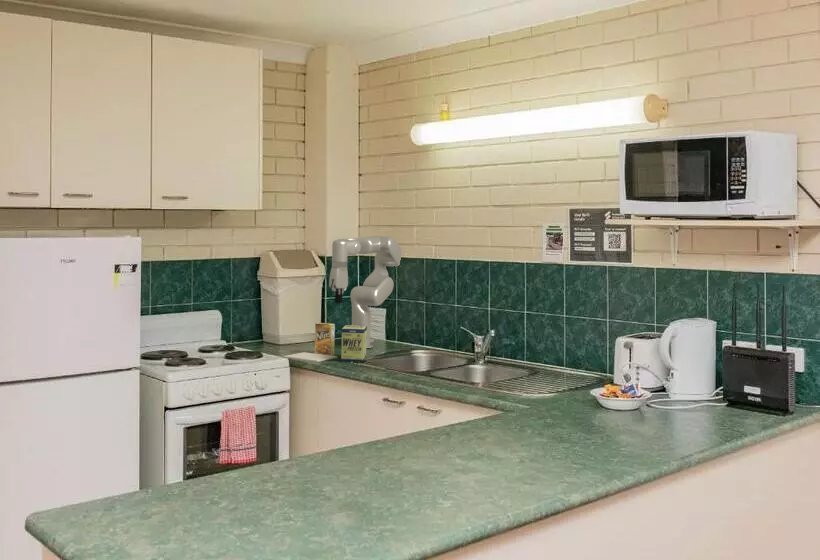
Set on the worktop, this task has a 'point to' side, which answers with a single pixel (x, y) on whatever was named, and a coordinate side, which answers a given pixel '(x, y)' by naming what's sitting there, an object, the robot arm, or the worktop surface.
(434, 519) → the worktop surface
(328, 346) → the candy box
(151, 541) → the worktop surface
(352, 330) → the protein box
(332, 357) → the mat
